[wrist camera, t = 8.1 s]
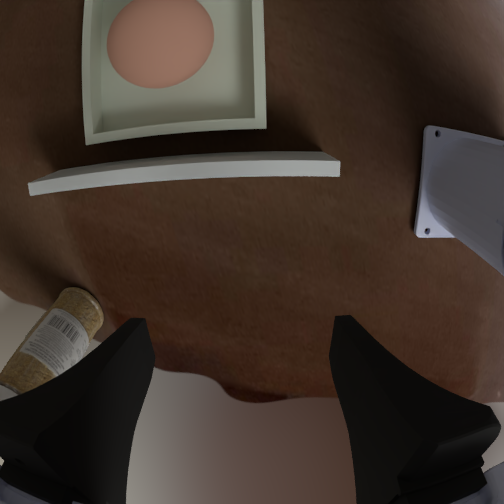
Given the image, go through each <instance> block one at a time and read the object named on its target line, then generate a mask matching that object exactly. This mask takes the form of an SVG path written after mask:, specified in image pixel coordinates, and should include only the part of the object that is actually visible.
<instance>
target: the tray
mask: <svg viewBox="0 0 504 504" xmlns="http://www.w3.org/2000/svg"><path fill="white" fill-rule="evenodd" d="M131 1H133V0H85V3H84V16H83V34H82V97H83V116H84V130H85V142H86V145H91V144H96V143H102V142H109V141H115V140H122V139H130V138H137V137H145V136H154V135H164V134H174V133H185V132H198V131H214V130H236V129H266V83H265V46H264V15H263V0H197V1H198V2H199V3H200V4H201V5H202V6H203V7H204V8H205V9H206V11H207V12H208V14H209V15H210V18H211V20H212V23H213V27H214V42H213V47H212V50H211V53H210V55H209V57H208V59H207V60H206V62H205V63H204V65H203V66H202V67H201V68H200V69H199V70H198V71H197V72H196V73H195V74H194V75H193V76H191V77H190V78H188V79H187V80H185V81H183V82H181V83H179V84H176V85H174V86H170V87H166V88H144V87H140V86H137V85H134V84H132V83H130V82H128V81H126V80H125V79H124V78H122V77H121V76H120V75H119V74H118V73H117V72H116V70H115V69H114V68H113V66H112V64H111V62H110V60H109V57H108V53H107V37H108V32H109V29H110V26H111V24H112V22H113V20H114V19H115V17H116V16H117V14H118V13H119V12H120V11H121V10H122V9H123V8H124V7H125V6H126V5H127V4H129V3H130V2H131Z"/></svg>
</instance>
